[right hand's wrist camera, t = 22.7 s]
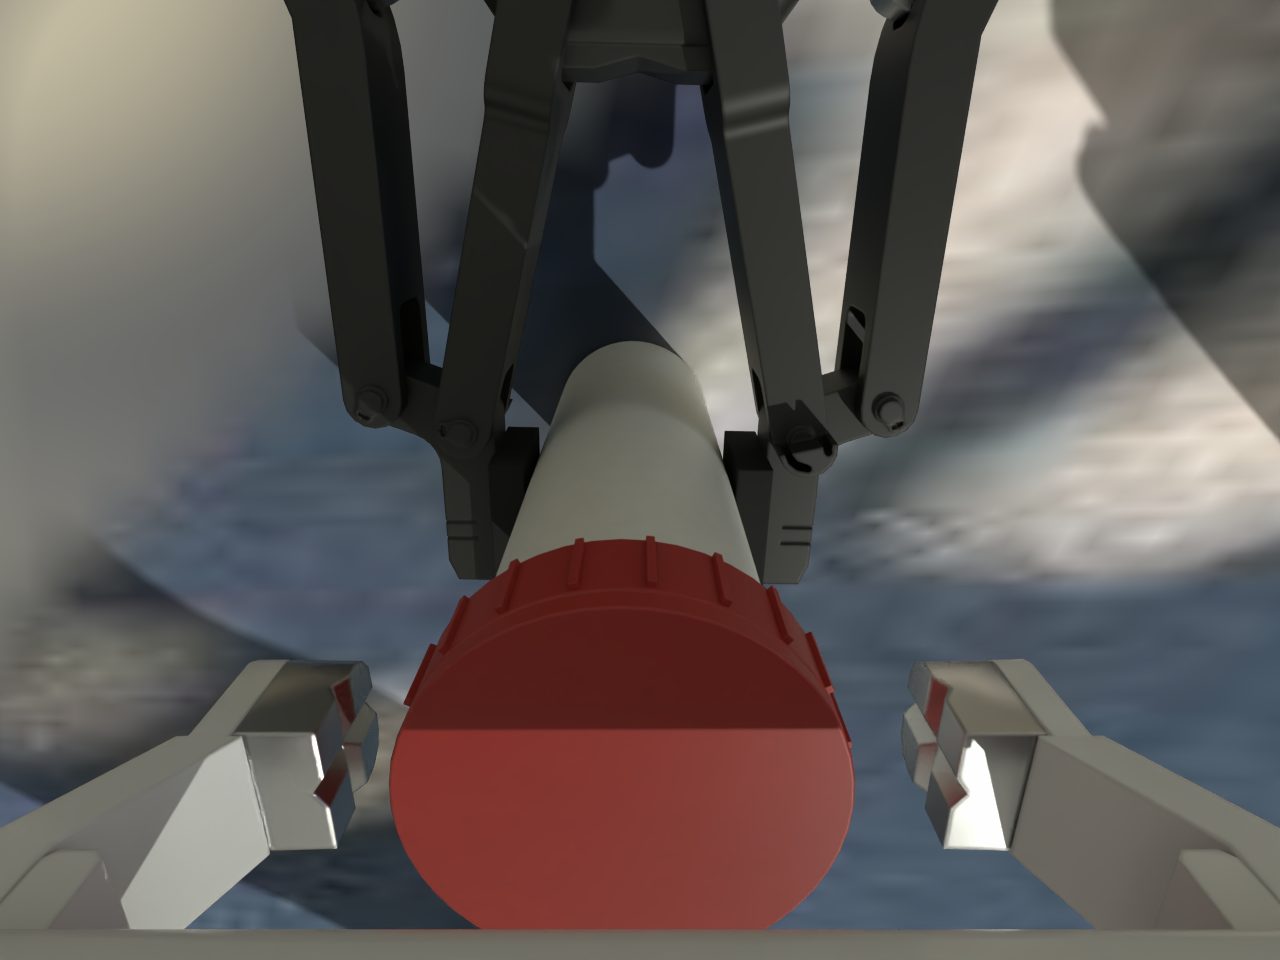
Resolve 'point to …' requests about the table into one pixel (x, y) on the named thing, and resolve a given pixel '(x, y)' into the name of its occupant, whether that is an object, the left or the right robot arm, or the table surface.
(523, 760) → the lid
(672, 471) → the jar
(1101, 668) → the table surface
